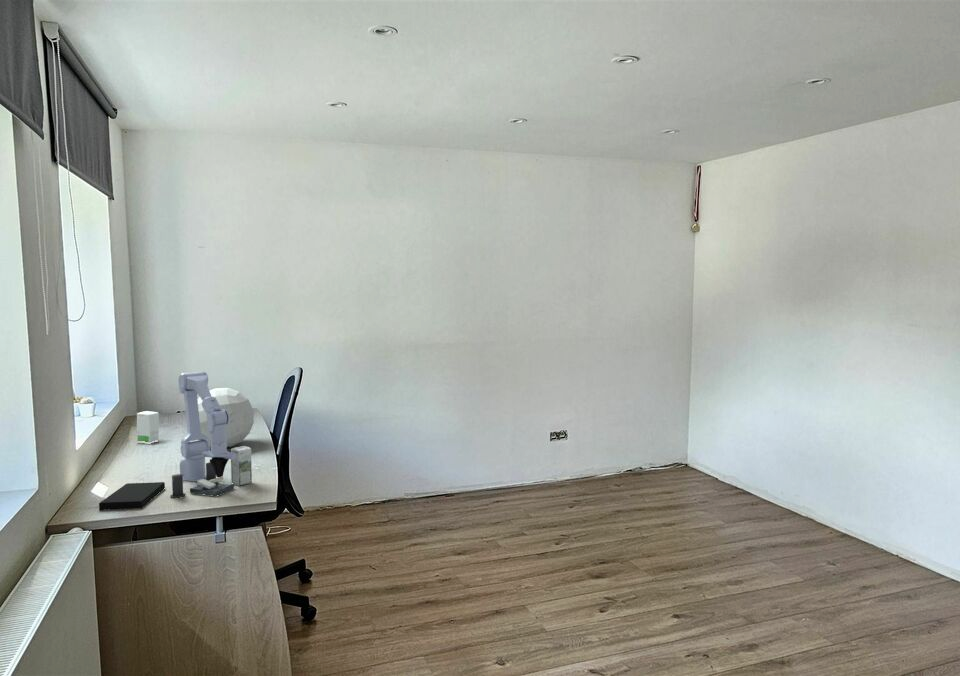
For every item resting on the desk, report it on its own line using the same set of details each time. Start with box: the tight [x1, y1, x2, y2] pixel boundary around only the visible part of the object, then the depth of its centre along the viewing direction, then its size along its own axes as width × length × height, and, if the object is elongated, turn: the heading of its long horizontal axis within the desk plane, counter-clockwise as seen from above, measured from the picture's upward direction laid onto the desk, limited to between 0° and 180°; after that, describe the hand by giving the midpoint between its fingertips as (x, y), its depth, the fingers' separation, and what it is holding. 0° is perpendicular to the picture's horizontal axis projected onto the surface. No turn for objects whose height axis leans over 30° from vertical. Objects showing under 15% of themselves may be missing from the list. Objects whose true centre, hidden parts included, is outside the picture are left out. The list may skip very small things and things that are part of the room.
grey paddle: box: [196, 478, 216, 489], centre depth 248 cm, size 6×3×1 cm, turn 72°
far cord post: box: [205, 461, 217, 481], centre depth 261 cm, size 5×5×8 cm
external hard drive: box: [98, 481, 166, 511], centre depth 241 cm, size 14×23×3 cm, turn 7°
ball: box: [197, 387, 255, 448], centre depth 319 cm, size 30×30×30 cm
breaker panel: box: [189, 481, 235, 497], centre depth 250 cm, size 12×10×3 cm
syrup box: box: [230, 445, 253, 487], centre depth 260 cm, size 6×6×14 cm
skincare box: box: [136, 410, 160, 442], centre depth 329 cm, size 8×7×16 cm
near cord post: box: [169, 473, 187, 499], centre depth 244 cm, size 5×5×8 cm
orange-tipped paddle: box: [209, 475, 224, 483], centre depth 252 cm, size 6×3×1 cm, turn 73°
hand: (219, 476), depth 251 cm, fingers closed
